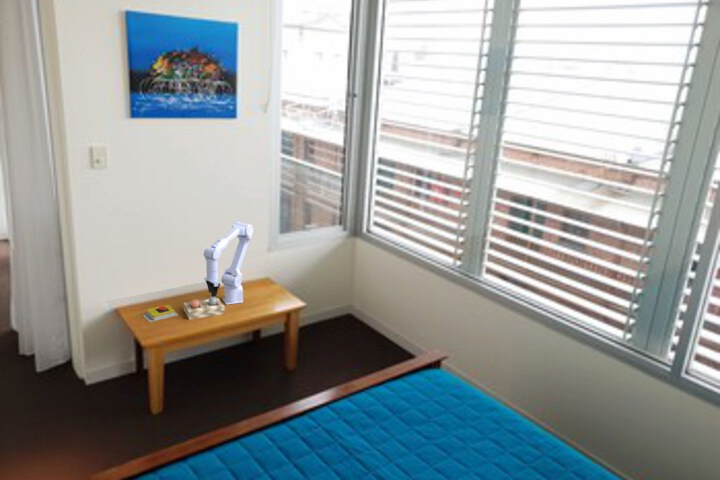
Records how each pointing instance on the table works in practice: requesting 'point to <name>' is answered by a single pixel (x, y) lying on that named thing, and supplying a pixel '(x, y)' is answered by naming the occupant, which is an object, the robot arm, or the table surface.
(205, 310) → the button panel
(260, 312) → the table surface
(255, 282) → the table surface
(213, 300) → the grey button
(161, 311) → the emergency button
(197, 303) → the terracotta button
